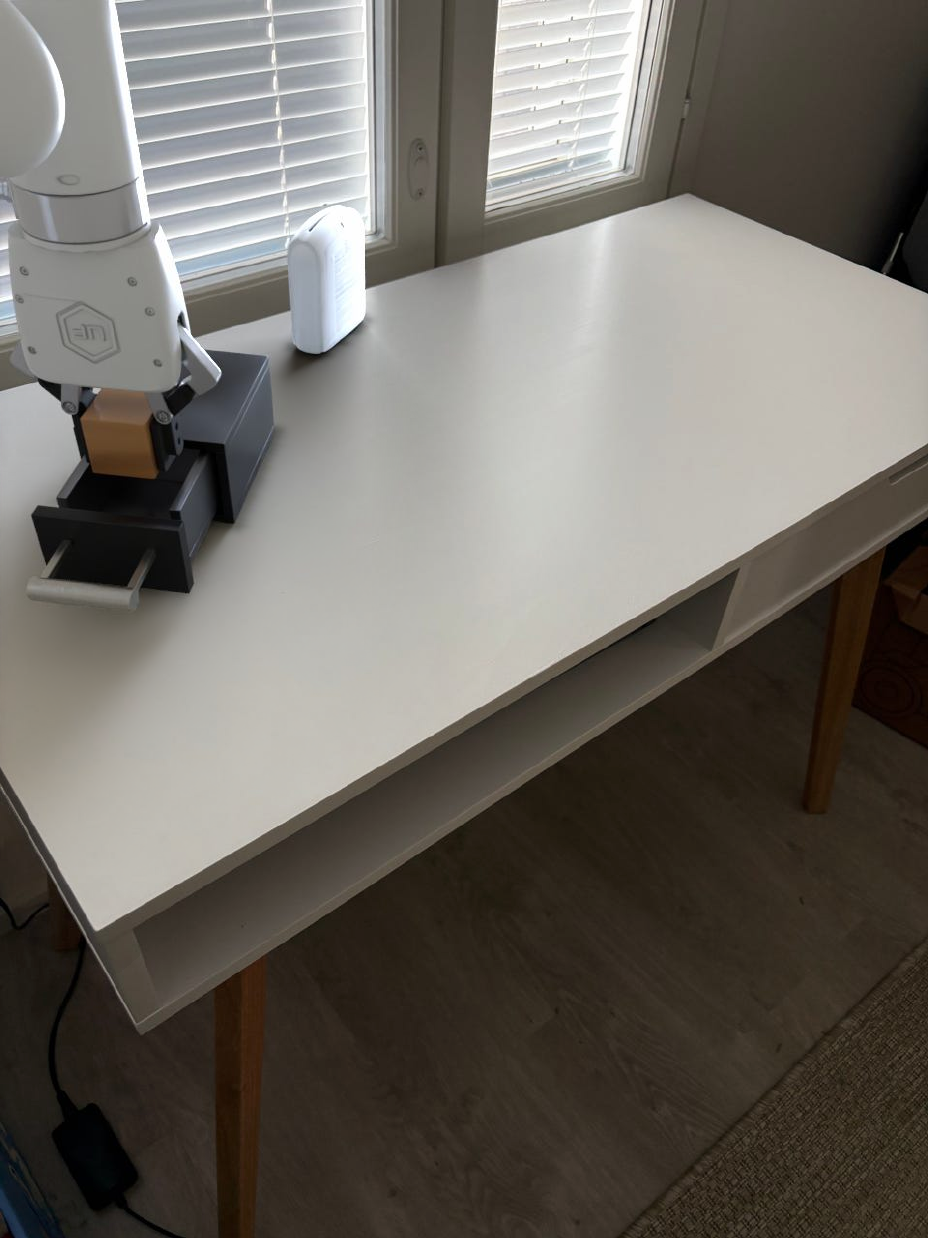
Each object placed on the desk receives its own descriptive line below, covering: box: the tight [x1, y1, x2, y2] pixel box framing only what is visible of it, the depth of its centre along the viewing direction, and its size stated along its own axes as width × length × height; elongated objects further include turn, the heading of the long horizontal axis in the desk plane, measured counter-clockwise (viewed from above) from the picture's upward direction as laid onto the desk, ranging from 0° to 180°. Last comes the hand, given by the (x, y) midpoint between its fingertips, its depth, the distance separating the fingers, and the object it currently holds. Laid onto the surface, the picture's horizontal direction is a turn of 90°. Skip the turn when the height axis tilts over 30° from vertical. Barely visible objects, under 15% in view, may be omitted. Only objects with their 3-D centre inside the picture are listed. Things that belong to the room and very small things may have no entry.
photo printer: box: [286, 205, 366, 355], centre depth 100 cm, size 10×4×12 cm, turn 157°
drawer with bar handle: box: [26, 448, 222, 613], centre depth 74 cm, size 18×10×6 cm, turn 174°
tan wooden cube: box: [80, 388, 159, 479], centre depth 72 cm, size 4×4×4 cm
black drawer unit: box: [72, 348, 276, 525], centre depth 83 cm, size 14×12×8 cm
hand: (133, 454), depth 73 cm, fingers closed on tan wooden cube, 4 cm apart
